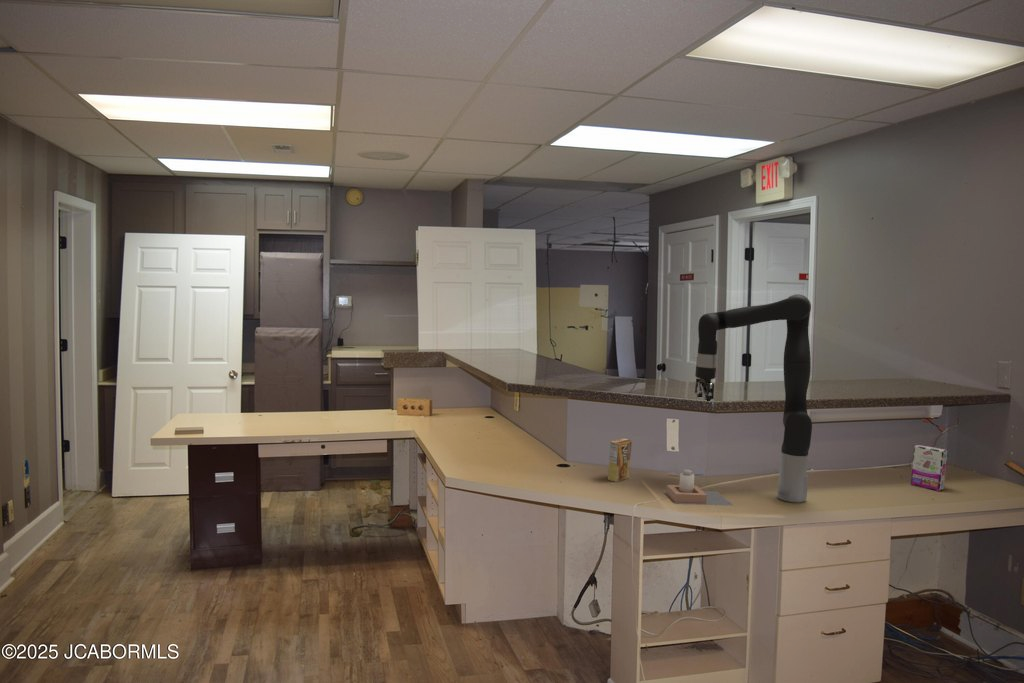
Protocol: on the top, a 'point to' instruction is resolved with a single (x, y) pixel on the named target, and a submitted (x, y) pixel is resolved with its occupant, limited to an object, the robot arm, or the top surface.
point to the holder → (696, 496)
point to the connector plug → (686, 481)
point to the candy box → (619, 459)
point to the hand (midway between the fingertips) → (703, 407)
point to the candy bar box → (929, 467)
